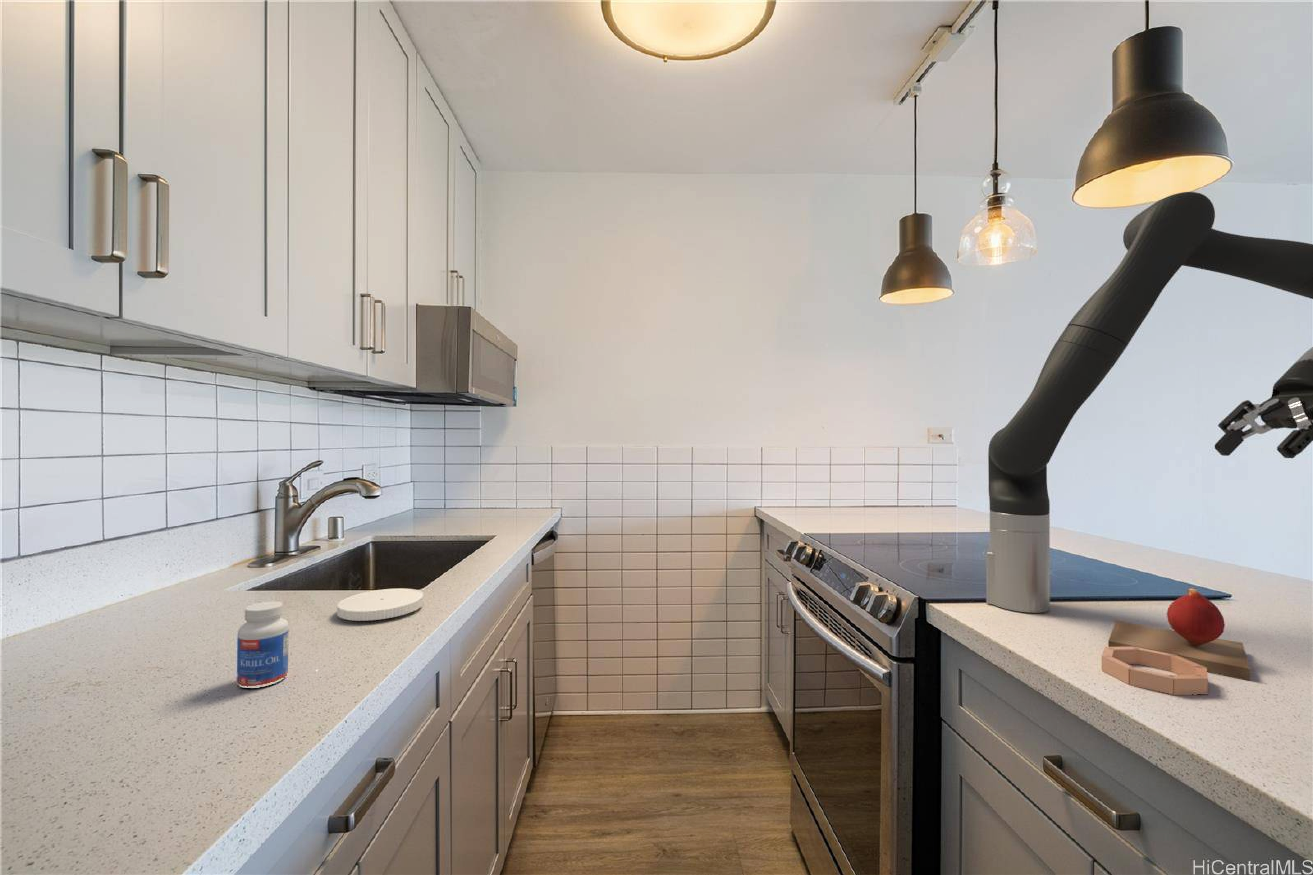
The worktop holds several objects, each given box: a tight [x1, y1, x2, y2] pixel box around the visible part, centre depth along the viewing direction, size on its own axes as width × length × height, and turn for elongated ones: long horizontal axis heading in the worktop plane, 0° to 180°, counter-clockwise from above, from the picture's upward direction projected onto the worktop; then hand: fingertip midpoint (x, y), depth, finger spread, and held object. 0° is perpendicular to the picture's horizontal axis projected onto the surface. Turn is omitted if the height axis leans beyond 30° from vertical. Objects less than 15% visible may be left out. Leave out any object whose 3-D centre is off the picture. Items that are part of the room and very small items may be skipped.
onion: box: [1166, 588, 1226, 646], centre depth 78 cm, size 6×6×8 cm
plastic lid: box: [336, 587, 425, 622], centre depth 99 cm, size 14×14×2 cm
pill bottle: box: [236, 601, 290, 687], centre depth 71 cm, size 6×5×10 cm
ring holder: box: [1101, 646, 1209, 696], centre depth 71 cm, size 10×10×2 cm
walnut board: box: [1107, 620, 1251, 681], centre depth 79 cm, size 14×12×2 cm
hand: (1250, 453), depth 82 cm, fingers open, 8 cm apart
